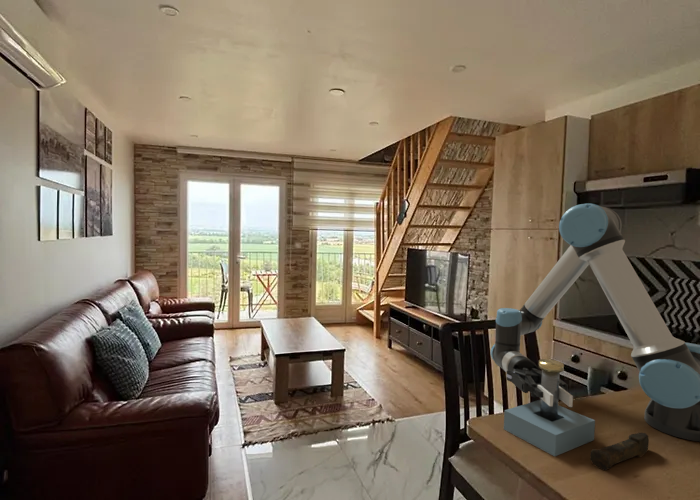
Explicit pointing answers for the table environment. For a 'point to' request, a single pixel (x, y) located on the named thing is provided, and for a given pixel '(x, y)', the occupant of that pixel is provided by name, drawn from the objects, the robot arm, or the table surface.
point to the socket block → (549, 428)
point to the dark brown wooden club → (620, 451)
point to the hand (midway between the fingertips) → (561, 401)
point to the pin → (550, 387)
